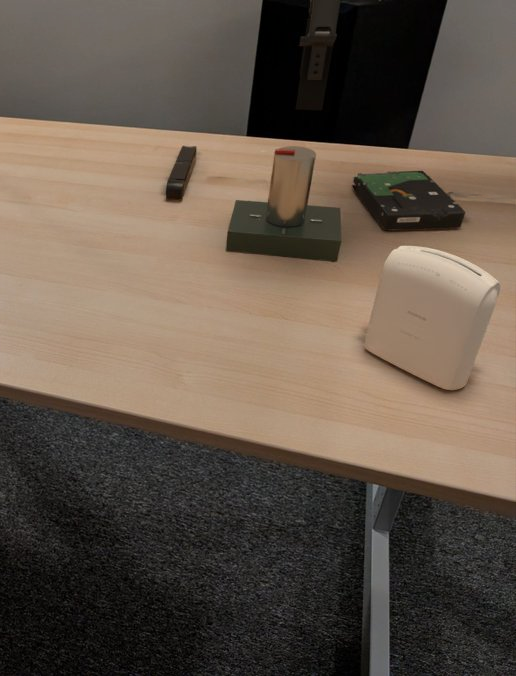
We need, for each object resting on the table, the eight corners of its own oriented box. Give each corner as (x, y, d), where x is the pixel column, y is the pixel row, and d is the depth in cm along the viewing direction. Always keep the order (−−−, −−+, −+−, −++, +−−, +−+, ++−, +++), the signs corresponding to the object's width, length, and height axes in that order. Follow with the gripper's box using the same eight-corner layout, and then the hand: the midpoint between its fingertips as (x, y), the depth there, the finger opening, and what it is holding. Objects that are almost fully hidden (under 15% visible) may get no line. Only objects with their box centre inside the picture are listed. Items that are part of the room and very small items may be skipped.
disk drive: (462, 231, 88) (418, 186, 100) (468, 212, 86) (423, 168, 98) (383, 233, 89) (349, 188, 101) (388, 215, 87) (353, 171, 99)
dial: (305, 212, 88) (316, 144, 83) (304, 228, 85) (316, 159, 79) (267, 209, 90) (276, 142, 84) (264, 225, 86) (273, 156, 81)
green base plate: (336, 227, 91) (340, 206, 89) (337, 261, 83) (341, 239, 81) (233, 218, 95) (236, 198, 93) (225, 251, 87) (227, 229, 85)
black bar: (181, 203, 100) (182, 184, 98) (164, 201, 101) (165, 183, 99) (196, 160, 114) (197, 143, 112) (182, 159, 115) (182, 143, 113)
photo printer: (354, 348, 69) (381, 243, 61) (379, 333, 70) (408, 229, 63) (450, 398, 62) (492, 287, 54) (474, 380, 63) (518, 270, 56)
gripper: (307, -133, 74) (281, 63, 87) (302, -127, 55) (269, 124, 68) (379, -137, 72) (341, 65, 85) (399, -133, 53) (347, 127, 66)
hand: (309, 91), depth 76 cm, fingers open, 13 cm apart
